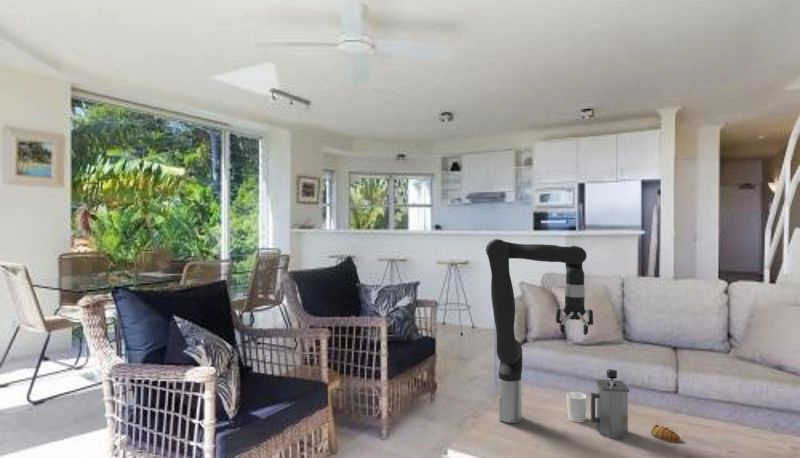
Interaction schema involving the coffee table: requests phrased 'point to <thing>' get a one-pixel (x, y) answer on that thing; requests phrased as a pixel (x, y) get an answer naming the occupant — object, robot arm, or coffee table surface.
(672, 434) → the pastry
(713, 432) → the coffee table surface
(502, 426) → the coffee table surface
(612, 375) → the plunger
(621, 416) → the square french press
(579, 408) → the white cup
